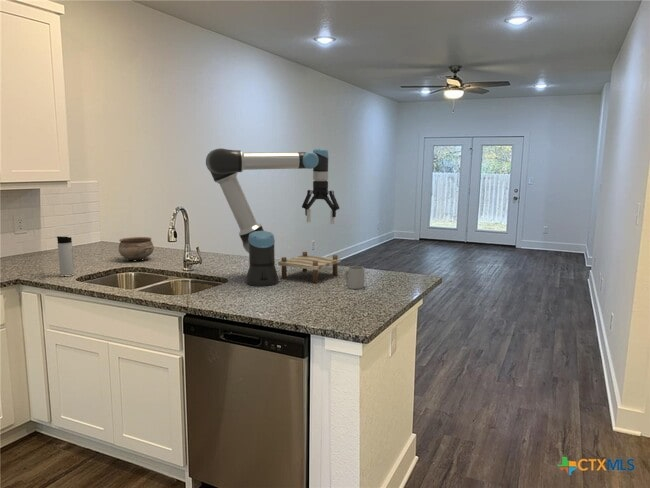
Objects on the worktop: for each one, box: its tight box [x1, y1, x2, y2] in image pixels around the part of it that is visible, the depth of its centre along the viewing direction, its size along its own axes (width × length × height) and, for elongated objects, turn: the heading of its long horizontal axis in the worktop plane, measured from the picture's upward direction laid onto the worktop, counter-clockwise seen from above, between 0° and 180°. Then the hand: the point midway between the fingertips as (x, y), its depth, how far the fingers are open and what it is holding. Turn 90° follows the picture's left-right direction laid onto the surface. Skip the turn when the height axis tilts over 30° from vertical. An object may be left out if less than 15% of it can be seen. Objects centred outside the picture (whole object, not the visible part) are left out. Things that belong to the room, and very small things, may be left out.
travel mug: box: [56, 236, 75, 276], centre depth 246 cm, size 6×7×20 cm
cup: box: [343, 265, 365, 290], centre depth 224 cm, size 7×10×9 cm
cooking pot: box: [118, 236, 155, 261], centre depth 287 cm, size 25×19×12 cm
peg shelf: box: [277, 251, 341, 284], centre depth 244 cm, size 22×22×10 cm
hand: (320, 223), depth 251 cm, fingers open, 13 cm apart
